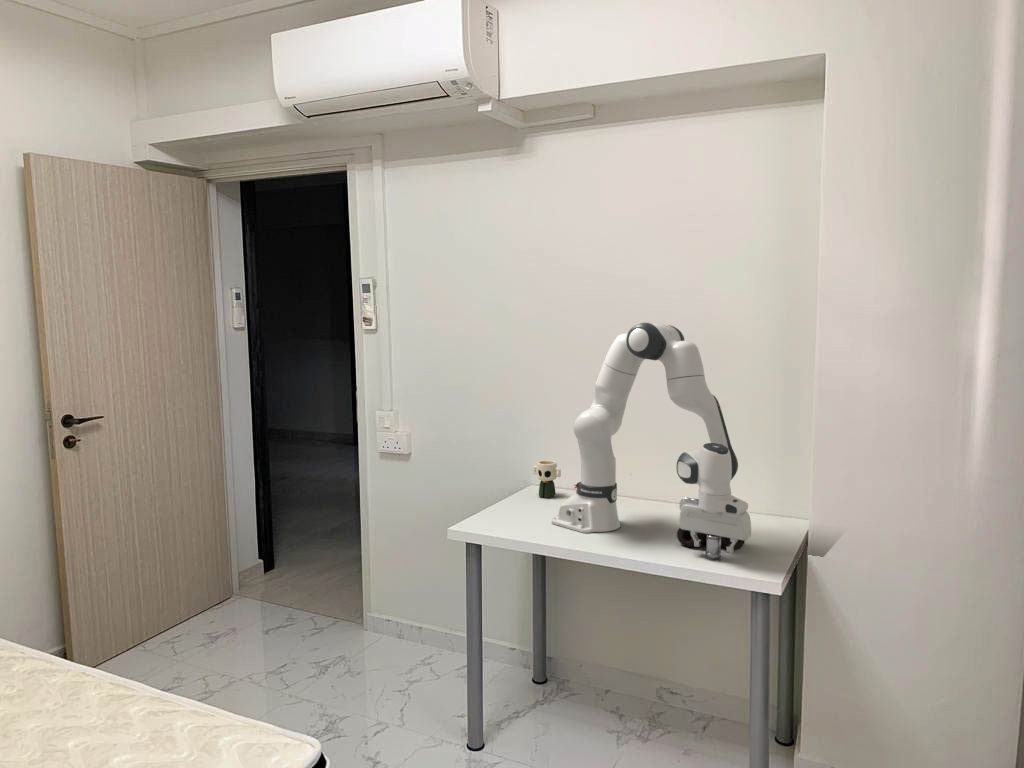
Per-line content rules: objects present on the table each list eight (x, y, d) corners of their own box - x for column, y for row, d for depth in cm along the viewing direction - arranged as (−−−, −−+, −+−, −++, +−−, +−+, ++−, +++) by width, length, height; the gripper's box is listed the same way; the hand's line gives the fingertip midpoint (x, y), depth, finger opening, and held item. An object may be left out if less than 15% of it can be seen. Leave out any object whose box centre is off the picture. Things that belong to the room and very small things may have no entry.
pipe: (673, 519, 231) (717, 521, 220) (701, 512, 242) (744, 513, 231) (676, 552, 231) (721, 555, 220) (704, 543, 241) (748, 546, 230)
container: (703, 559, 219) (703, 535, 218) (708, 554, 222) (709, 531, 221) (717, 562, 216) (718, 537, 216) (723, 557, 220) (723, 533, 219)
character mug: (529, 497, 286) (529, 462, 284) (537, 492, 292) (537, 459, 291) (556, 500, 281) (556, 465, 279) (564, 496, 287) (564, 461, 286)
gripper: (675, 498, 221) (674, 545, 222) (746, 509, 209) (745, 559, 211) (684, 493, 226) (683, 539, 228) (753, 504, 214) (752, 552, 216)
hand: (713, 549), depth 219 cm, fingers open, 8 cm apart
